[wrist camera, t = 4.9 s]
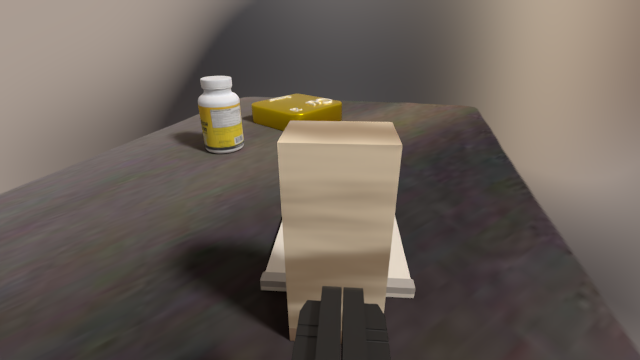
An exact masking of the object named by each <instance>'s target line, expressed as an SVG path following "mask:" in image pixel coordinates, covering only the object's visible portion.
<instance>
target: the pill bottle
mask: <svg viewBox="0 0 640 360" xmlns="http://www.w3.org/2000/svg"><path fill="white" fill-rule="evenodd" d="M200 82H201V87H202V88H203V89H204V93H203V94H202V95H201V96H200V97H199V98H198V107H199V112H200V118H201V124H202V130H203V136H204V143H205V147H206V149H207V150H208V151H209V152H212V153H218V154H222V153H231V152H235V151H237V150H239V149H241V148H242V147H243V145H244V138H243V130H242V120H241V111H240V101H239V97H238V96H237V95H236V94H235V93H234V92H231V87H232V81H231V77H228V76H209V77H203V78H201V79H200Z"/></svg>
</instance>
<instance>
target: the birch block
mask: <svg viewBox="0 0 640 360" xmlns="http://www.w3.org/2000/svg"><path fill="white" fill-rule="evenodd" d="M277 148H278V163H279V179H280V194H281V210H282V225H283V241H284V256H285V272H286V287H287V303H288V318H289V334H290V341H295V337H296V330H297V325H298V318H299V312H300V310H301V308H302V307H303V305H304V304H305V303H306V301H307V300H317V301H321V294H322V286H336V287H342V298H341V344H342V312H343V287H353V288H363V292H364V303H368V304H378V305H379V307H380V309H381V310H382V312H383V313H384V306H385V297H386V288H387V279H388V270H389V261H390V252H391V243H392V234H393V225H394V216H395V207H396V198H397V189H398V181H399V172H400V163H401V154H402V143H401V141H400V139H399V137H398V134H397V132H396V130H395V128H394V126H393V123H392V122H351V121H290V122H289V123H288V125H287V127H286V128H285V130H284V132H283V134H282V135H281V137H280V139H279V140H278V142H277Z"/></svg>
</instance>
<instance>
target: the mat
mask: <svg viewBox="0 0 640 360" xmlns="http://www.w3.org/2000/svg"><path fill="white" fill-rule="evenodd" d="M260 286H261V290H269V291H287V287H286V272H285V256H284V241H283V225H282V223H281V226H280V229H279V232H278V235H277V238H276V241H275V244H274V247H273V250H272V253H271V256H270V259H269V262H268V265H267V268H266V271H265V272H263V273H262V276H261V279H260ZM414 293H415V285H414V281H413V279H410V275H409V271H408V267H407V263H406V259H405V255H404V251H403V247H402V243H401V238H400V234H399V230H398V226H397V222H396V218H395V216H394V225H393V234H392V243H391V252H390V261H389V270H388V279H387V288H386V297H401V298H414Z"/></svg>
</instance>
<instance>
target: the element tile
mask: <svg viewBox="0 0 640 360" xmlns="http://www.w3.org/2000/svg"><path fill="white" fill-rule="evenodd" d="M252 115H253V122H254V123H257V124H261V125H264V126H268V127H271V128H275V129H278V130H281V131H284V130H285V128H286V127H287V125H288V123H289V122H290V121H341V120H342V103H341V101H336V100H331V99H325V98H320V97H313V96H308V95H303V94H293V95H288V96H283V97H278V98H274V99H269V100H264V101H259V102H254V103H253V104H252Z"/></svg>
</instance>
